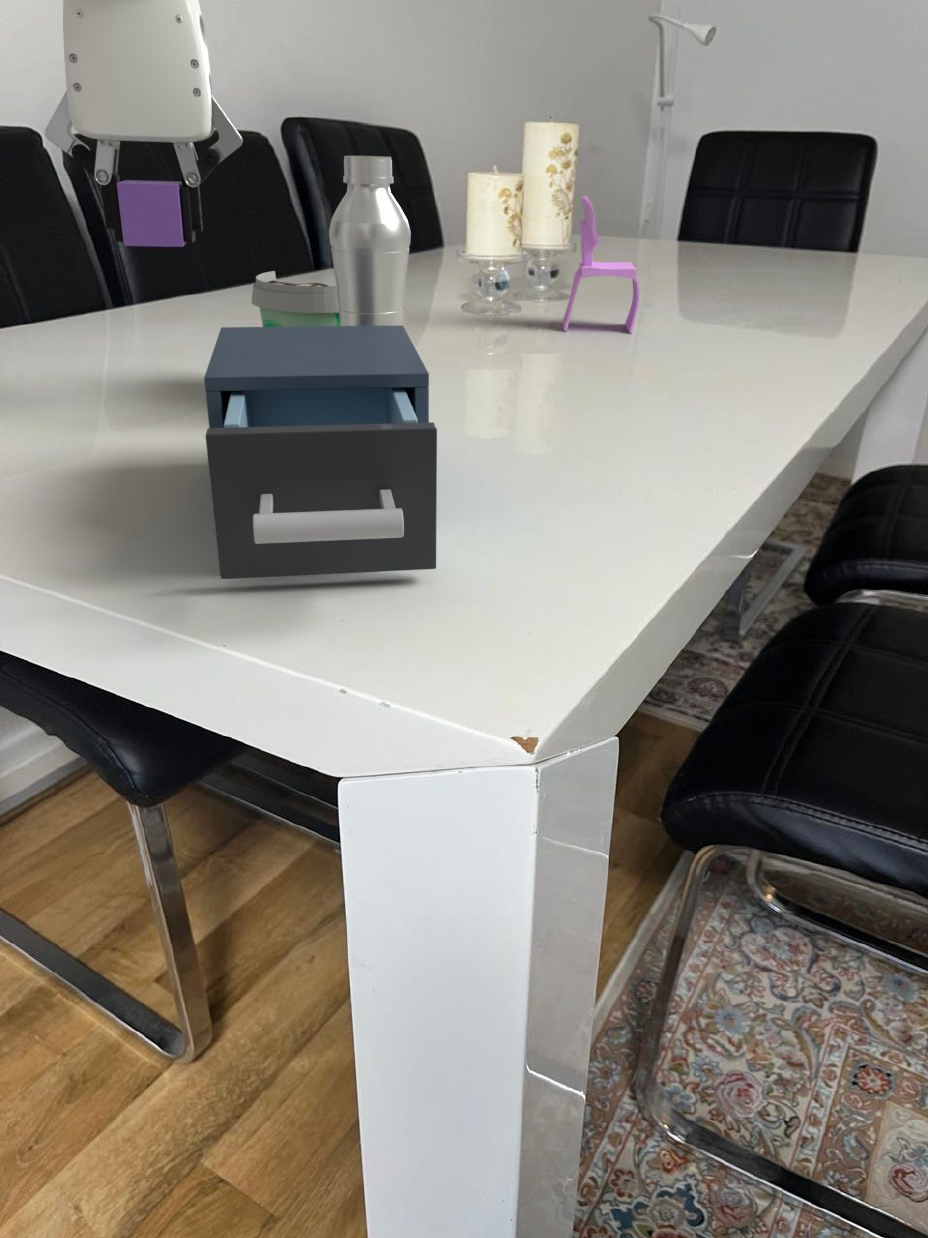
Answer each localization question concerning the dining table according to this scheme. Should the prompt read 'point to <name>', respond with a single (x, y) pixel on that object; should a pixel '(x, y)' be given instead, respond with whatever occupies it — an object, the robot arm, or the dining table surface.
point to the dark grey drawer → (323, 483)
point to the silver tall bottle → (369, 246)
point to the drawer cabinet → (314, 363)
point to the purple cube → (150, 213)
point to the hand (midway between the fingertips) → (156, 238)
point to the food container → (295, 303)
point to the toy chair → (599, 266)
